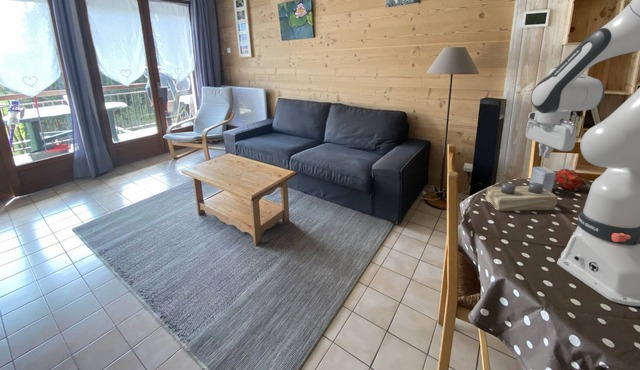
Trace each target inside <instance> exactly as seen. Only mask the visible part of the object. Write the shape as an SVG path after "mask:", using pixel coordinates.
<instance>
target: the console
mask: <svg viewBox="0 0 640 370" xmlns="http://www.w3.org/2000/svg"><path fill="white" fill-rule="evenodd" d="M515 186H516V185H515ZM501 187H502V186H488V187H486V193H485V197H484V199H485V200H486V202H488V203H489V202H490V203H491V204H492V205H493V206H492V205H491V204H490V203H489V204H490V205H491V206H492V207H493V208H495V209H496V210H497V212H499V211H501V212H502V211H542V210H545V211H546V210H547V211H549V210H550V211H551V210H553V211H554V210H555V209H556V207H557V206H556V205H557V201H558V199H559V196H557V195H556V194H554V193H553V192H549V191H548V190H546V189H544V188H543V191H542V193H533V192H530V191H528V188H529V185H526V186H525V185H524V186H523V185H522V186H519V185H518V186H516V188H515V192H514V194H507V193H503V192H501Z"/></svg>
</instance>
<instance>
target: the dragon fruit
mask: <svg viewBox="0 0 640 370" xmlns="http://www.w3.org/2000/svg"><path fill="white" fill-rule="evenodd" d="M555 173H556V176H555V180H554V183H557V184H558V188H562V187H563V188H565V189H567V190H568V191H571V192H576V191H577V190H576V189H583V188H584V186H585V187H587V184H588V183H587V181H586V179H584V178H583V176H582V174H580V173H577V171H575V170H573V169H569V168H563V169H562V168H561V169H560V170H558V171H556V172H555Z"/></svg>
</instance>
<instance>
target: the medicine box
mask: <svg viewBox="0 0 640 370" xmlns="http://www.w3.org/2000/svg"><path fill="white" fill-rule="evenodd" d="M556 173H557V172H555V171H553V170H552V169H550V168H547V167H545V166H533V167H532V171H531V175H530V179H529V184H530V183H540V184H542V185H544V187H543V188H544V189H546V190H548V191H549V192H551V193H553V192H552V191H553V188H554V184H555V181H554V180H555V176H556Z"/></svg>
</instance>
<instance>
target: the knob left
mask: <svg viewBox="0 0 640 370" xmlns="http://www.w3.org/2000/svg"><path fill="white" fill-rule="evenodd" d="M500 187H501V192H503V193H507V194H514V192H515V188H516V184H513V183H508V182H506V183H505V182H504V183H502V184H501V186H500Z"/></svg>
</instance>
